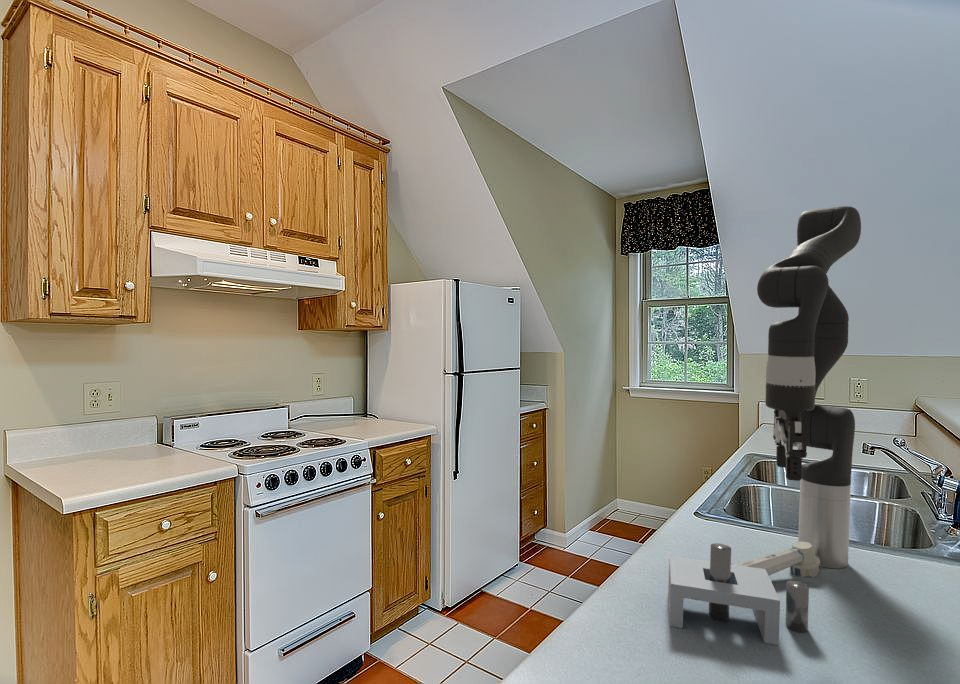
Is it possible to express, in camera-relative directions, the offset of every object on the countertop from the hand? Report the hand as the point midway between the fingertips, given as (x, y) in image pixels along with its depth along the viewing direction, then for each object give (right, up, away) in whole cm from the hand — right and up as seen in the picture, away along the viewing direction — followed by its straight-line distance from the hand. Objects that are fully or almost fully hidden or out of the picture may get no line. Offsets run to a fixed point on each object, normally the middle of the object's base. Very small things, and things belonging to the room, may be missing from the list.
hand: (788, 473), depth 96 cm
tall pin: (-14, -24, -3) cm, 28 cm away
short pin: (-2, -24, -6) cm, 25 cm away
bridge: (-14, -24, -3) cm, 28 cm away
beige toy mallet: (+3, -24, +12) cm, 27 cm away
